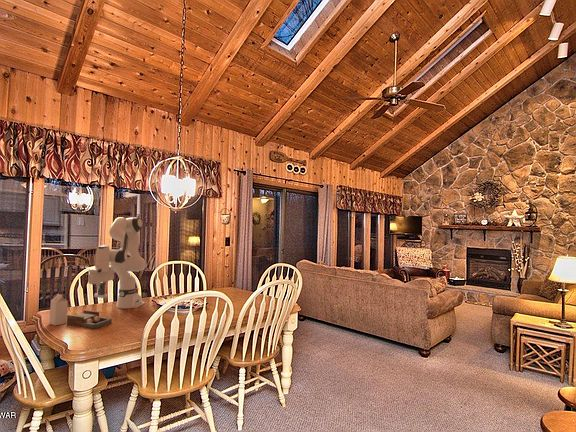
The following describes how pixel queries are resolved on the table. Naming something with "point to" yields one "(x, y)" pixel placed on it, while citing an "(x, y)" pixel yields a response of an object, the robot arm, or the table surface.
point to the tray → (97, 323)
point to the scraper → (101, 291)
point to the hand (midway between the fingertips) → (101, 288)
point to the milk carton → (58, 310)
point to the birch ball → (96, 319)
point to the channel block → (81, 318)
